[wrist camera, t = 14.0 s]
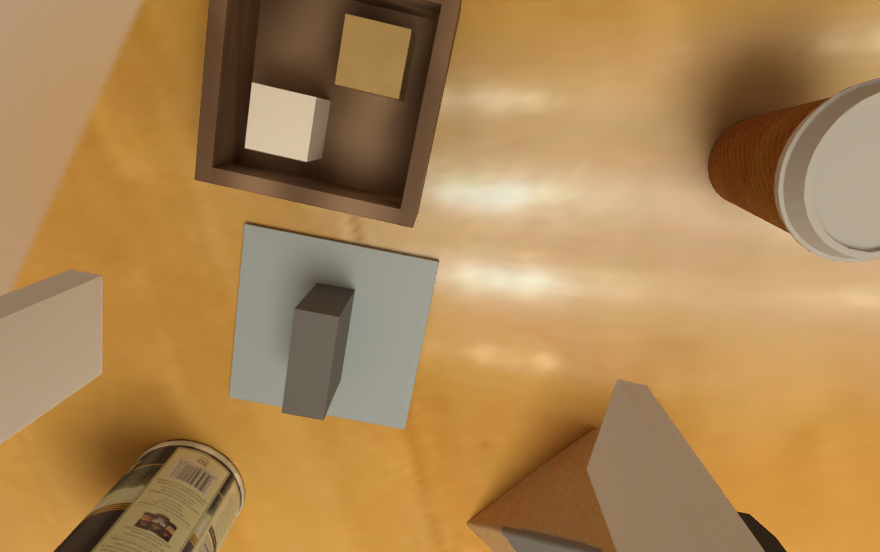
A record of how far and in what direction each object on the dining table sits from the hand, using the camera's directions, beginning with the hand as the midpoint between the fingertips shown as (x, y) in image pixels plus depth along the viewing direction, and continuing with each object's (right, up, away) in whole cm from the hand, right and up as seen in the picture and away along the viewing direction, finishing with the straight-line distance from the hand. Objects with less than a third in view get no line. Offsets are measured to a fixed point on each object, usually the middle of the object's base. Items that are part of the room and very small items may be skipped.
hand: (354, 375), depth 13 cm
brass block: (-2, +17, +21) cm, 27 cm away
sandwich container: (+13, -18, +33) cm, 40 cm away
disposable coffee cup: (+25, +11, +24) cm, 36 cm away
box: (-5, +15, +23) cm, 28 cm away
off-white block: (-8, +13, +23) cm, 27 cm away
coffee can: (-20, -17, +33) cm, 42 cm away
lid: (-7, -2, +29) cm, 29 cm away
